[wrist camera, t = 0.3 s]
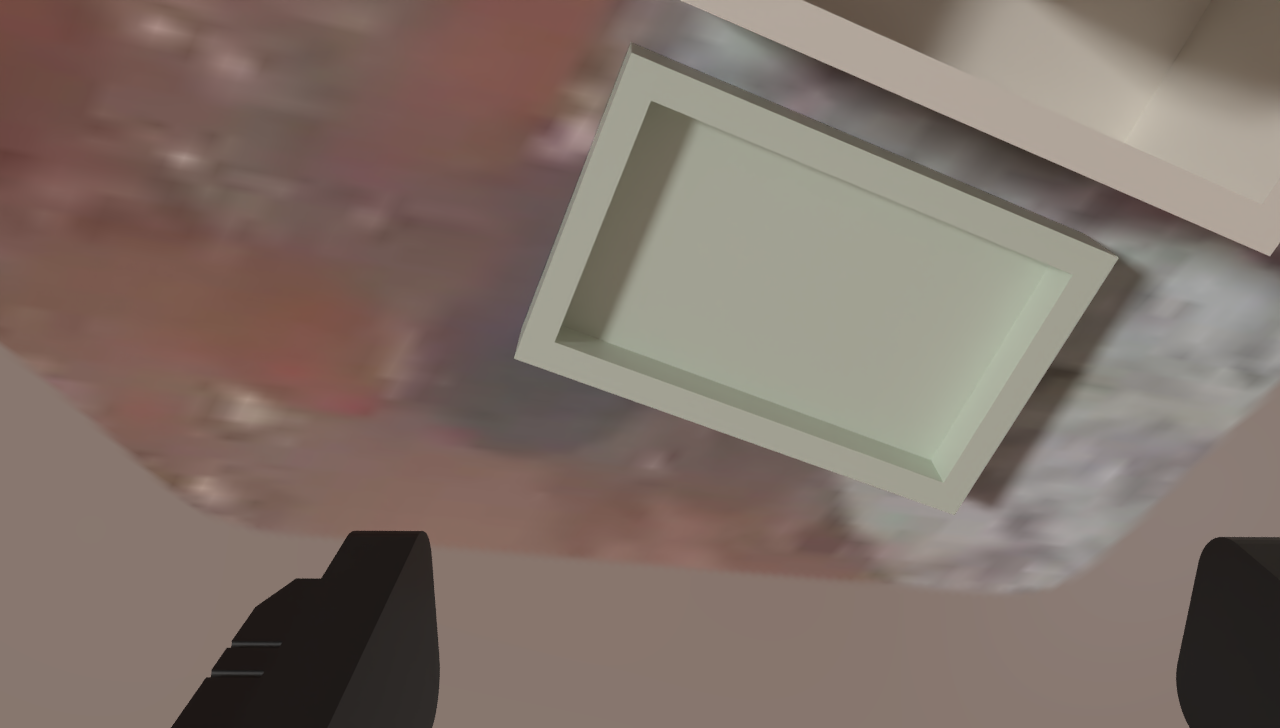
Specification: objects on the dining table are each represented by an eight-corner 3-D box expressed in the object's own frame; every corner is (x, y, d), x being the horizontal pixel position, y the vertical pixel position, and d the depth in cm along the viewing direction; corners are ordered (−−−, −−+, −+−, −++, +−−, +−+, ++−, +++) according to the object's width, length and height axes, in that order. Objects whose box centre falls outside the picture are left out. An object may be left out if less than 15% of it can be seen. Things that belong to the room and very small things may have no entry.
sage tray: (631, 42, 29) (631, 52, 27) (1083, 233, 32) (1118, 257, 29) (521, 328, 33) (513, 358, 30) (933, 477, 35) (954, 514, 33)
